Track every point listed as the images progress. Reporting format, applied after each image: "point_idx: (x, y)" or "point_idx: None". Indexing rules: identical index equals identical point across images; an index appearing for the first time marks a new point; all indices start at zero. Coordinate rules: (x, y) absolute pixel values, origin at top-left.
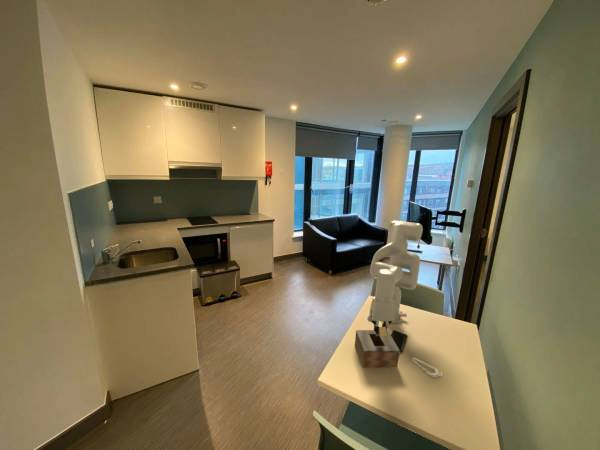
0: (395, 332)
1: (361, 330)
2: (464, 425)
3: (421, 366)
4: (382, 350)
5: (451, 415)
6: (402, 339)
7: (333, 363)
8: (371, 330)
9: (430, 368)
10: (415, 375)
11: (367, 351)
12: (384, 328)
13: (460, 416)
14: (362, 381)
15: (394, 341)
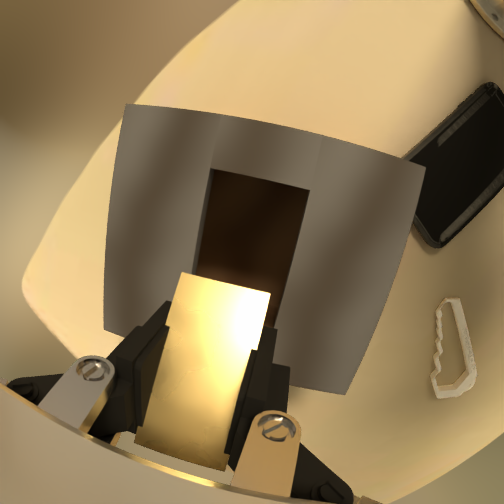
0: (493, 102)
1: (167, 112)
2: (354, 493)
3: (439, 352)
4: None
5: (350, 479)
6: (497, 166)
7: (50, 224)
8: (264, 128)
9: (464, 358)
10: (377, 378)
11: (123, 333)
12: (208, 460)
13: (369, 482)
14: None
15: (449, 163)
